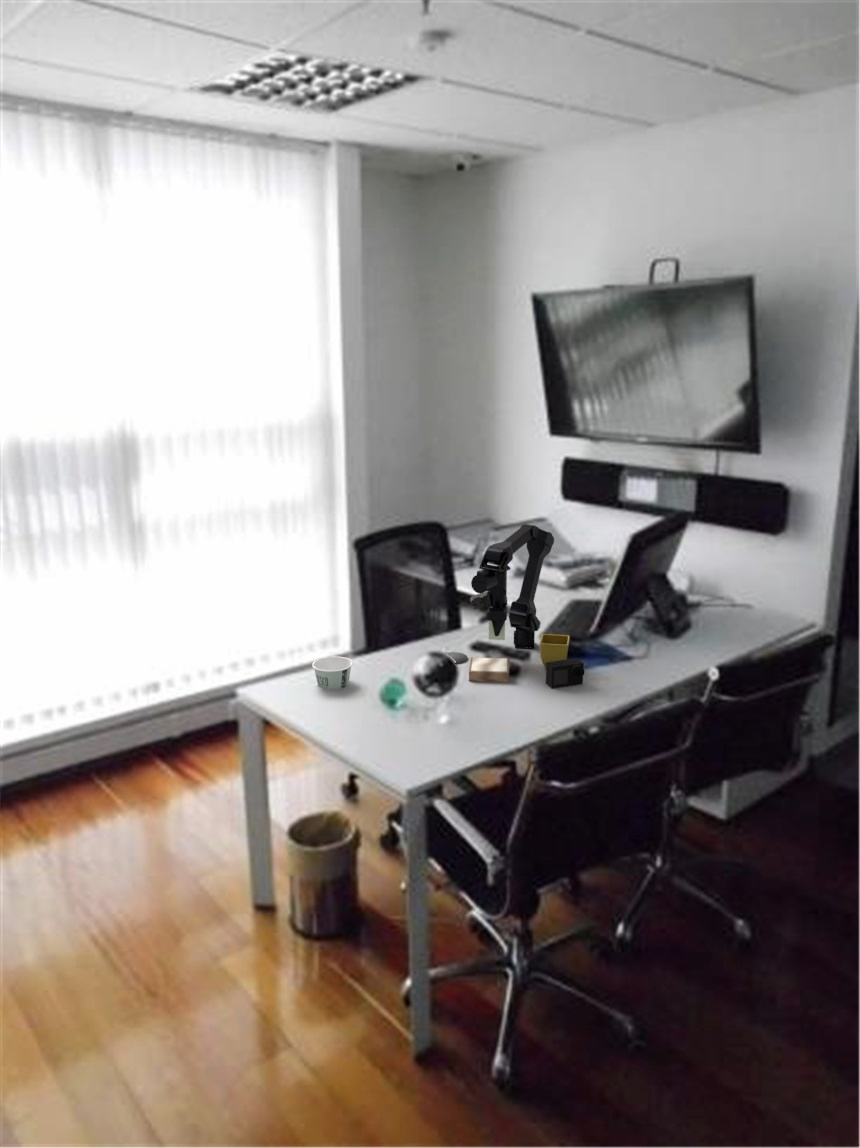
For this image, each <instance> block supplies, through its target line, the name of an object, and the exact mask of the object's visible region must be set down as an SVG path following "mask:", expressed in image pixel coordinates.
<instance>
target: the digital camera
mask: <svg viewBox="0 0 860 1148" xmlns="http://www.w3.org/2000/svg"><path fill="white" fill-rule="evenodd" d="M584 665H585V662H583V661H582V660H580V659H579V658H568V659H566V660H560V661H553V662H546V668H545V685H547V687H549V688H550V689H560V688H567V687H573V686H574V687H575V686H581V685H584V675H585V672H586V671H585V667H584Z"/></svg>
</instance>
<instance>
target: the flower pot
mask: <svg viewBox="0 0 860 1148" xmlns="http://www.w3.org/2000/svg"><path fill="white" fill-rule="evenodd" d="M570 638H571V637H570V635H569V634H568V635H567V634H566V635H565V634H554V633H553V634H551V633H549V634H548V633H542V634H541V638H540V641H539V652H540V659H541V662H542V665H543V666H544V668H545V669H546V662H553V661H560V660H567V658H568V651H569V644H570Z"/></svg>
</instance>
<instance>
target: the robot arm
mask: <svg viewBox="0 0 860 1148" xmlns="http://www.w3.org/2000/svg"><path fill="white" fill-rule="evenodd" d="M525 544H526V549H527V553H528V559H527V563H526V567H525V570H524V576H523V579H522V580H523V581H522V584H521V588H520V592H519V597H518V598H517V599H515V600H513V601H511V604H510V608H509V612H508V607H507V606H508V596H507V593H508V592H507V591H508V588H507V587H508V584H507V583H508V582H507V581H508V577H507V576H508V571H509V570H511V567H510V566H509V564H510V563H511V562H512V561H513V559H514V554H515V553H516V552H517V551H518V550H520V549H521V548H522V547H524V545H525ZM554 544H555V537H554V536H553V534H552V532H550V531H545V530H543V529H541V528H540V527H538V526H536V525H535V524H526V523H525V524H521V526H520V528H519V529H517V530H516V531H515V532H513V533H512V534H511V535H509V537H507V538H506V539H505V540H503V541H501V542H496V543H493V544H491V545H488V547H487V548H486V550H485V551H484V555H483V557H482V559H481V562H480V564H479V568H478V569H479V570H477V571H476V575H474V576H473V577H472V579H471V581H470V582H471V584H470V585H471V588H472V590H473V591H474V592H475V593H477V594H475V595H472V596H470V599H469V602H470V605H471V607H472V609H473V610H478V609H479V608H482V607H485V606H486V607H487V609H486V618H485V619H486V620H487V621H489V620H490V621H492V624H493V629H494V634H495V636H499V634H500V631H501V629H502V627H503V625H504V622H505V623H506V621H507V620H508V619H509V624H510V627H511V628H515V629H514V630H513V645H514V648H515V649H535V648H536V646H535V645H536V644H535V634H536V633H535V632H538V631H539V629H540V628H541V621H540V620H539V618H538V617H537V608H536V605H535V597H536V592H537V587H538V585H539V580H540V576H541V572H542V567H543V565H544V564H543V563H544V559H545V558H546V557H547V556H548V555H549V554H551V551H552V549H553V545H554ZM507 617H508V618H507Z"/></svg>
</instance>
